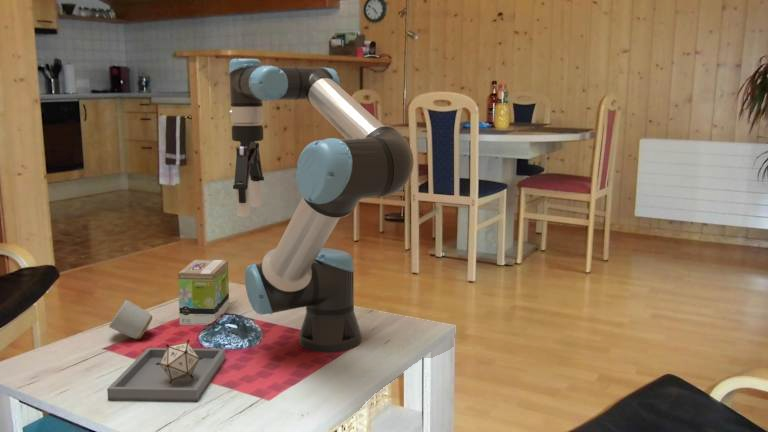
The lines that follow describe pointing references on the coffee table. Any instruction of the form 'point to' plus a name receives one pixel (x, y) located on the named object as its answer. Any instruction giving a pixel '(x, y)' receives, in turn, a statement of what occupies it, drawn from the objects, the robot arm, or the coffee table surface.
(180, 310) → the tea box
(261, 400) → the coffee table surface
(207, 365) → the tray
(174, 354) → the game die
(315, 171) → the robot arm
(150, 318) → the soft-edged grey cube
